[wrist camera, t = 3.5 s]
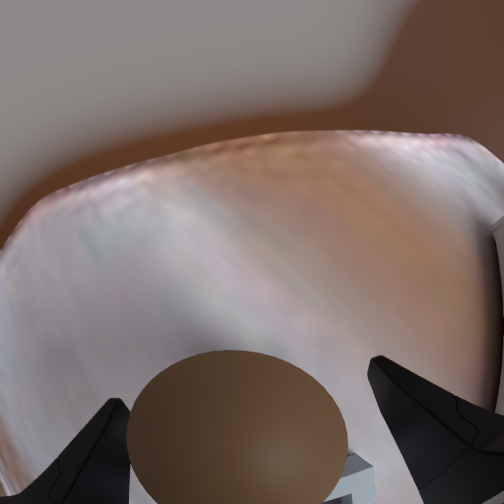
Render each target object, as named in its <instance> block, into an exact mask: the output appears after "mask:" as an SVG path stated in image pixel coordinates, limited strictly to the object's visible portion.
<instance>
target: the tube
mask: <svg viewBox="0 0 504 504" xmlns="http://www.w3.org/2000/svg"><path fill="white" fill-rule="evenodd" d="M491 230H492V234H493V239H494V240H495V241H496V246H497V252H498V258H499V265H500V273H501V282H502V294H503V315H504V216H503V217H502V218H501V219H499V220H498V221H497V222H496V223H495V224H493V225H492V226H491ZM495 413H498V414H501V415H504V337H503V358H502V370H501V379H500V386H499V393H498V399H497V405H496V410H495Z"/></svg>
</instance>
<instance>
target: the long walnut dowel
mask: <svg viewBox="0 0 504 504" xmlns="http://www.w3.org/2000/svg"><path fill="white" fill-rule="evenodd" d="M126 437H127V449H128V454H129V459H130V462H131V465H132V468H133V470H134V472H135V474H136V476H137V478H138V480H139V482H140V483H141V484H142V486H143V487H144V489H145V490H146V491H147V493H148V494H149V495H150V496H151V497H152V498H153V499H154V500H155V501H156V502H157V503H158V504H322V503H323V502H324V501H325V500H326V499H327V497H328V496H329V495H330V494H331V493H332V491H333V490H334V488H335V487H336V485H337V483H338V482H339V480H340V477H341V475H342V473H343V470H344V467H345V463H346V459H347V451H348V439H347V431H346V426H345V422H344V419H343V417H342V414H341V412H340V410H339V408H338V406H337V405H336V403H335V401H334V400H333V398H332V397H331V395H330V394H329V393H328V392H327V391H326V389H325V388H324V387H323V386H322V385H321V384H320V383H319V382H317V381H316V380H315V379H314V378H313V377H312V376H310V375H309V374H307V373H306V372H304V371H303V370H302V369H300V368H298V367H296V366H294V365H292V364H290V363H288V362H286V361H283V360H281V359H278V358H276V357H272V356H269V355H265V354H261V353H255V352H249V351H234V350H226V351H213V352H208V353H203V354H198V355H195V356H192V357H189V358H186V359H184V360H181V361H179V362H177V363H175V364H173V365H171V366H170V367H168V368H166V369H165V370H163V371H162V372H160V373H159V374H158V375H157V376H156V377H154V378H153V379H152V380H151V381H150V382H149V383H148V384H147V385H146V387H145V388H144V389H143V390H142V391H141V393H140V395H139V396H138V398H137V399H136V401H135V403H134V405H133V408H132V410H131V413H130V416H129V420H128V425H127V434H126Z"/></svg>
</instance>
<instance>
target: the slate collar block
mask: <svg viewBox="0 0 504 504" xmlns="http://www.w3.org/2000/svg"><path fill="white" fill-rule="evenodd" d="M339 497H340V498H341V504H376V495H375V481H374V470H373V466H372V465H371V464H369V463H368V462H367V461H365V460H364V459H363V458H361V457H360V456H359V455H357V454H353V455H350V456H347V459H346V463H345V467H344V470H343V473H342V475H341V477H340V480H339V482H338V483H337V485H336V487H335V488H334V490H333V491H332V493H331V494H330V495H329V496H328V497H327V499H326V500H325V501H324V502H326V501H329V500H332V499H336V498H339Z"/></svg>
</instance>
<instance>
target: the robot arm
mask: <svg viewBox="0 0 504 504" xmlns="http://www.w3.org/2000/svg"><path fill="white" fill-rule="evenodd" d="M367 376H368V380H369V382H370V385H371V388H372V390H373V393H374V396H375V398H376V401H377V404H378V407H379V409H380V412H381V414H382V416H383V418H384V420H385V422H386V424H387V426H388V428H389V430H390V432H391V434H392V436H393V438H394V440H395V442H396V444H397V446H398V448H399V450H400V452H401V454H402V456H403V458H404V460H405V463H406V465H407V467H408V469H409V471H410V473H411V475H412V477H413V480H414V482H415V484H416V486H417V488H418V490H419V493H420V495H421V498H422V500H423V502H424V504H504V415H501V414H498V413H495V412H492V411H489V410H487V409H484V408H481V407H479V406H477V405H474V404H472V403H470V402H468V401H466V400H464V399H462V398H460V397H458V396H455V395H454V394H452V393H450V392H448V391H446V390H445V389H443V388H441V387H439V386H437V385H435V384H433V383H432V382H430V381H428V380H426V379H424V378H422V377H420V376H419V375H417V374H415V373H413V372H411V371H410V370H408V369H406V368H404V367H402V366H401V365H399V364H397V363H395V362H393V361H392V360H390V359H388V358H386V357H384V356H382V355H379V356H376V357H373V358H371V360H370V363H369V368H368V372H367ZM129 416H130V411H129V409H128V408H127V406H126V405H125V404H124V402H123V401H122V400H121V399H120V398H110V399H109V400H108V401H107V402H106V403H105V404H104V405H103V406H102V407H101V408H100V410H99V411H98V412H97V413H96V414H95V415H94V416H93V417H92V419H91V420H90V421H89V422H88V423H87V424H86V425H85V426H84V428H83V429H82V430H81V431H80V432H79V433H78V434H77V435H76V437H75V438H74V439H73V440H72V441H71V442H70V443H69V444H68V446H67V447H66V448H65V449H64V450H63V451H62V452H61V454H60V455H59V456H58V457H57V458H56V459H55V460H54V461H53V463H52V464H51V465H50V466H49V467H48V468H47V469H46V470H45V471H44V472H43V473H42V474H41V475H40V476H39V477H38V478H37V479H35V480H34V481H33V482H32V483H31V484H30V485H29V486H28V487H27V488H25V489H24V490H23V491H22V492H20V493H19V494H16V495H13V496H4V497H0V504H129V482H130V464H131V462H130V459H129V454H128V449H127V437H126V434H127V425H128V420H129Z"/></svg>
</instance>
